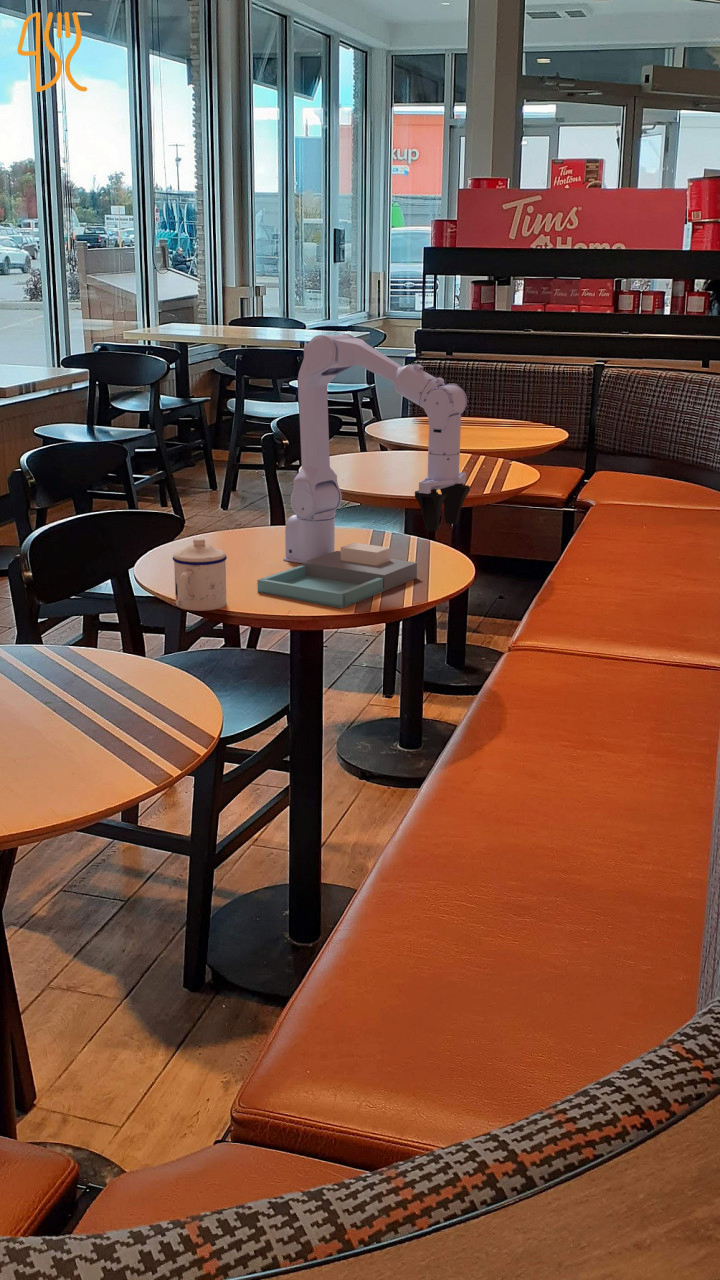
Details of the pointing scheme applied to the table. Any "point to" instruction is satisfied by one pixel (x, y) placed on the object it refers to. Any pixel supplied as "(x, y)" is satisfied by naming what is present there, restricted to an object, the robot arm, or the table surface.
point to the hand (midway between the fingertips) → (441, 527)
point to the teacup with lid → (200, 577)
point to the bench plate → (360, 570)
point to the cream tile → (365, 554)
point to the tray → (317, 588)
